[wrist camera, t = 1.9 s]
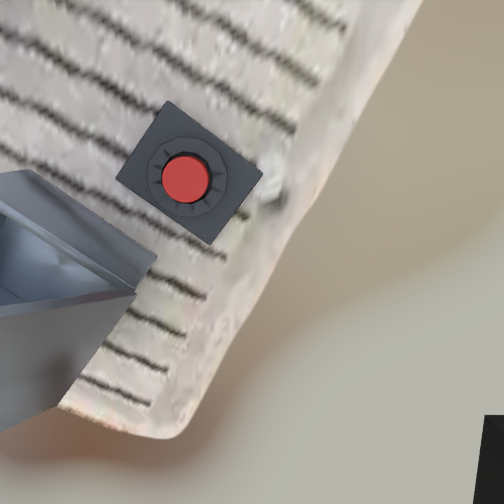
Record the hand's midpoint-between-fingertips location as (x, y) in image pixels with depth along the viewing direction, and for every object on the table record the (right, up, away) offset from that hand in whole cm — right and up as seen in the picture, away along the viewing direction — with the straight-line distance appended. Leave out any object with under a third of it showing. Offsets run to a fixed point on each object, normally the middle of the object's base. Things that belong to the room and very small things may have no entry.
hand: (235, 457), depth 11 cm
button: (-5, +12, +23) cm, 27 cm away
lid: (-14, -2, +14) cm, 20 cm away
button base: (-5, +12, +26) cm, 30 cm away
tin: (-17, +4, +28) cm, 33 cm away
